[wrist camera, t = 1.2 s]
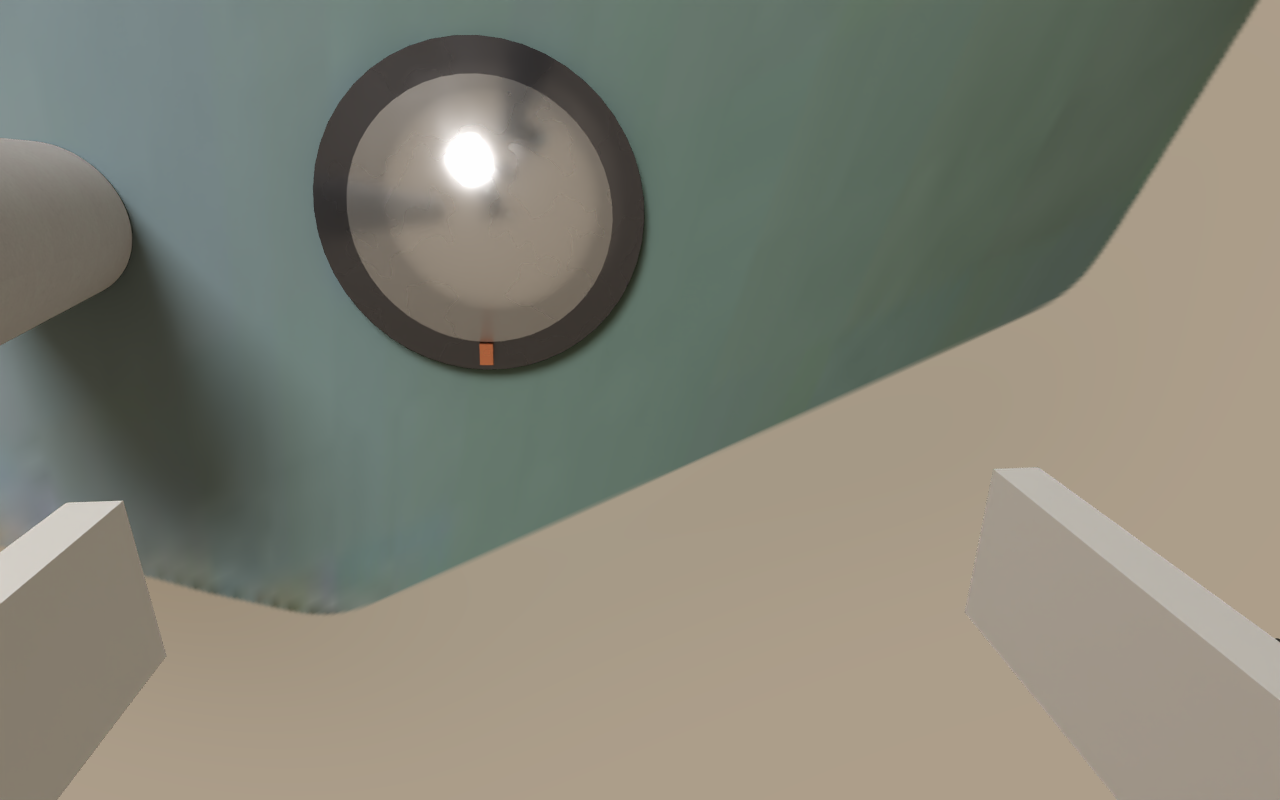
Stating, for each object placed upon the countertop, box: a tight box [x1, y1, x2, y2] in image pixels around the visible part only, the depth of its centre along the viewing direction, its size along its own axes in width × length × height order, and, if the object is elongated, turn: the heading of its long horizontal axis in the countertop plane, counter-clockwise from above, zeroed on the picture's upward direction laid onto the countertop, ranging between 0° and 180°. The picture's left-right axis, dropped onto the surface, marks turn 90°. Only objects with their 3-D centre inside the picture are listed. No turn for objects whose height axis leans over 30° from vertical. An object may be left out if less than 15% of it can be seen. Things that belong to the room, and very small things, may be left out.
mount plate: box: [313, 35, 644, 370], centre depth 31 cm, size 14×14×1 cm
